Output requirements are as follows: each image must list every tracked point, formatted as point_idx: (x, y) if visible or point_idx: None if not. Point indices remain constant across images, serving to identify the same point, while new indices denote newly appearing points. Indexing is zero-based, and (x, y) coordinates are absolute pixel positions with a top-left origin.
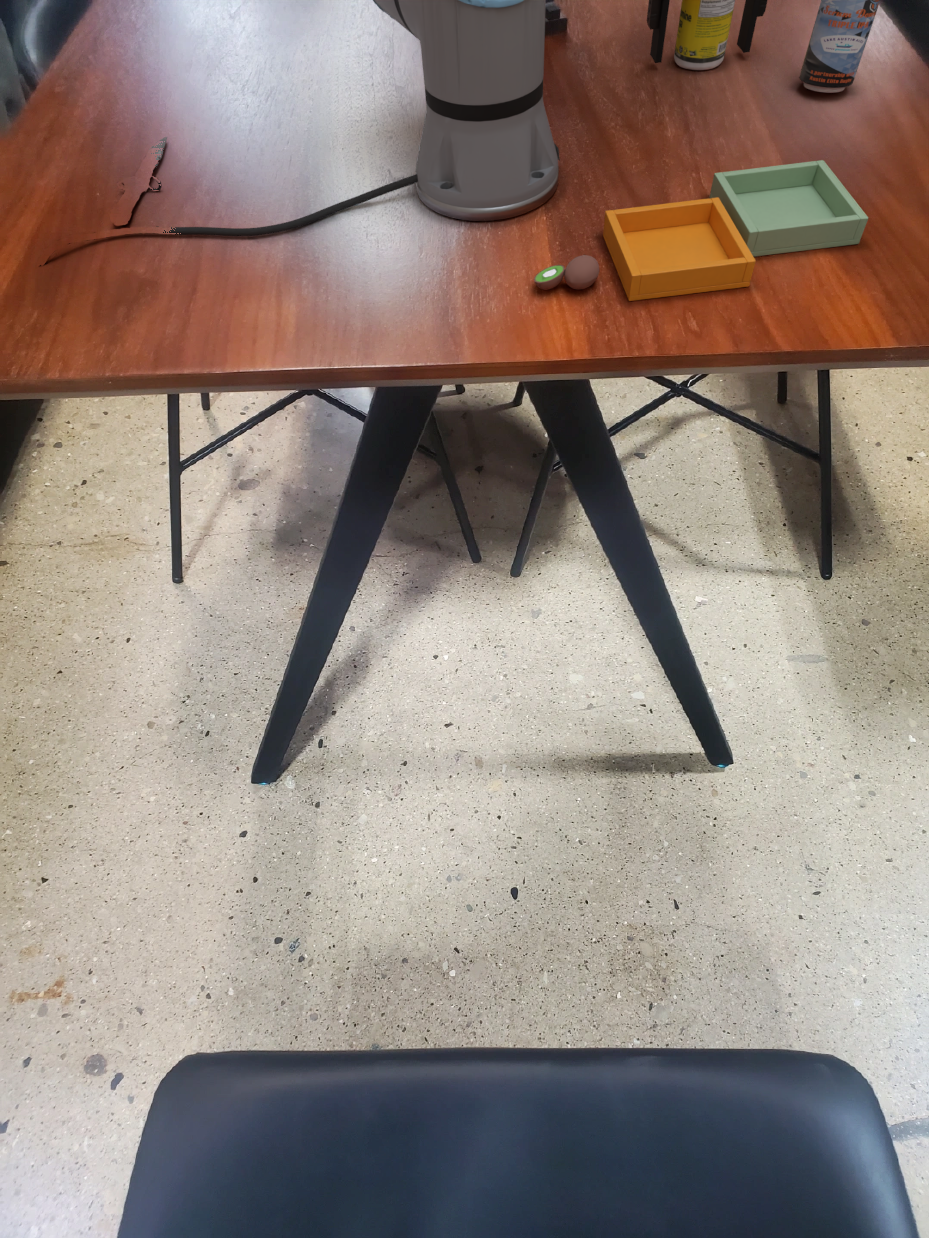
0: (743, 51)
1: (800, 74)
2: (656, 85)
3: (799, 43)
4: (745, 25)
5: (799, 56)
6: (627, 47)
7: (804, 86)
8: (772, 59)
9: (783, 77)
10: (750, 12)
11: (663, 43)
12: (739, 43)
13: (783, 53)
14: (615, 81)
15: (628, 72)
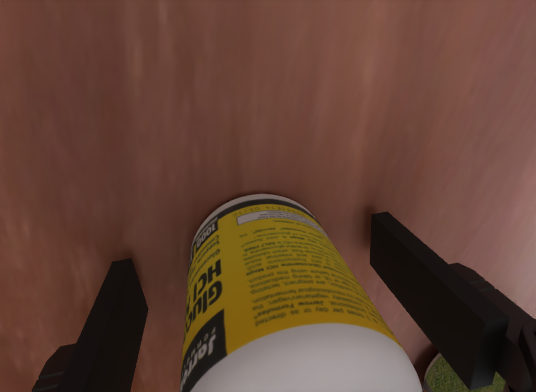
0: (371, 263)
1: (427, 388)
2: (141, 356)
3: (526, 164)
4: (399, 274)
5: (488, 234)
6: (29, 126)
7: (424, 378)
8: (429, 244)
9: (413, 321)
10: (420, 317)
11: (138, 344)
12: (374, 234)
13: (465, 216)
14: (26, 342)
15: (58, 297)
